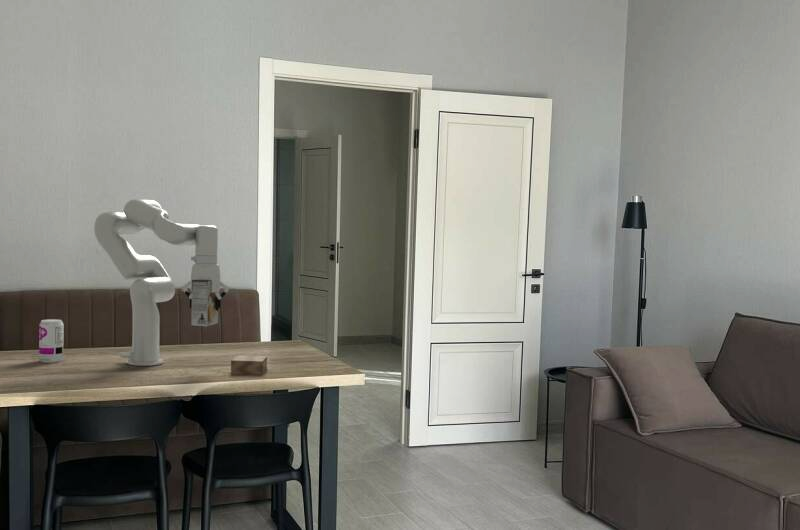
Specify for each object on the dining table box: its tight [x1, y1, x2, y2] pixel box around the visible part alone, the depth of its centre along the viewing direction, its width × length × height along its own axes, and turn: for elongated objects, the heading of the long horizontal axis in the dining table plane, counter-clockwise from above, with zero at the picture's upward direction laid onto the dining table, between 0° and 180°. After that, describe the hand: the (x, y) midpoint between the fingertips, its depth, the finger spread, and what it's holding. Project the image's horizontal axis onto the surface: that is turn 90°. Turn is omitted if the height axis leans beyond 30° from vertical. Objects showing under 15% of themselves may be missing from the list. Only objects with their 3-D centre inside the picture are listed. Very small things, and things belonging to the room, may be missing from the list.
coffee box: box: [190, 280, 219, 327], centre depth 286 cm, size 9×6×16 cm
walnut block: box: [230, 354, 268, 375], centre depth 290 cm, size 11×11×5 cm
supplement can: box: [38, 318, 65, 364], centre depth 297 cm, size 8×8×15 cm
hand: (205, 309), depth 287 cm, fingers closed on coffee box, 7 cm apart
